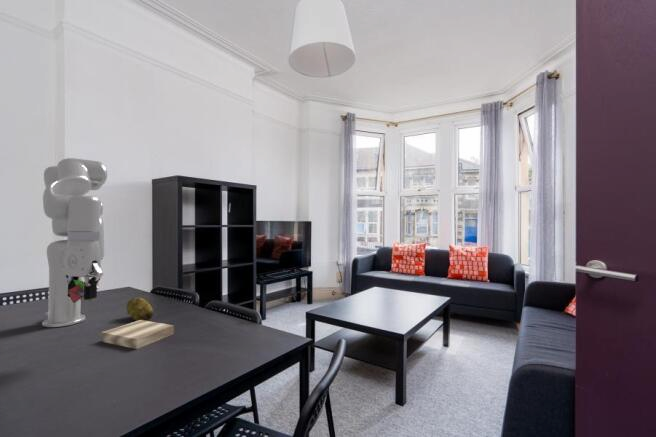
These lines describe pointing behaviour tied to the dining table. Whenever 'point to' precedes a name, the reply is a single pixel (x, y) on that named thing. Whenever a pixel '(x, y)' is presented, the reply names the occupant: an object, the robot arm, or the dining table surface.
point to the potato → (139, 309)
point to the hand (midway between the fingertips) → (82, 296)
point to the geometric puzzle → (78, 291)
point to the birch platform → (137, 334)
